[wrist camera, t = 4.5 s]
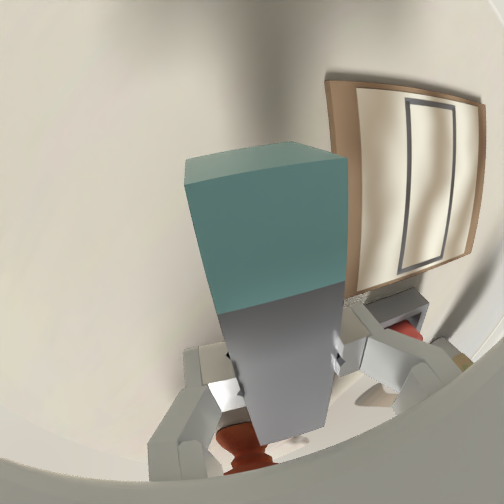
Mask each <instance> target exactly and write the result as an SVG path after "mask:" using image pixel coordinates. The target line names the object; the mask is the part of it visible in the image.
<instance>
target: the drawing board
mask: <svg viewBox="0 0 504 504" xmlns="http://www.w3.org/2000/svg"><path fill="white" fill-rule="evenodd" d="M325 90H326V98H327V106H328V116H329V126H330V137H331V149H332V153H334V154H337V155H340V156H343V157H346V158H348V244H347V264H346V280H345V292H344V299H345V298H349V297H352V296H355V295H358V294H362V293H365V292H368V291H371V290H374V289H377V288H380V287H383V286H386V285H389V284H392V283H395V282H398V281H400V280H403V279H406V278H409V277H412V276H414V275H417V274H420V273H422V272H425V271H428V270H430V269H433V268H436V267H438V266H441V265H443V264H446V263H448V262H451V261H453V260H456V259H458V258H461V257H463V256H465V255H468V254H470V253H471V251H472V247H473V243H474V238H475V234H476V229H477V224H478V218H479V212H480V206H481V199H482V192H483V183H484V173H485V159H486V107H485V105H484V104H481V103H478V102H474V101H471V100H467V99H463V98H460V97H456V96H452V95H447V94H443V93H438V92H434V91H429V90H423V89H418V88H411V87H405V86H398V85H390V84H381V83H370V82H357V81H333V80H329V81H325Z"/></svg>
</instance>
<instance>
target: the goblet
mask: <svg viewBox="0 0 504 504" xmlns="http://www.w3.org/2000/svg"><path fill="white" fill-rule="evenodd" d="M216 440H217V442H218V443H219V444H220V445H221V446H222V447H223V448H224V449H226V450H227V451H229V452H230V453H232V454H233V455H234V456H235V458H234V460H233V461H232V462H231V465H232V467H233V469H232V470H230V471H228V472H226V473H224V475H229V474H235V473H241V472H246V471H250V470H255V469H259V468H264V467H268V466H272V465H276V464H279V463H273V461H272V457H271V456H269V455H267V454H265V453H264V452H265V448H266V447H267V445H268V444H266V445H262V446H260V443H259V440H258V438H257V435H256V432H255V430H254V427H253V424H252V422H247V423H242V424H237V425H233V426H229V427H226V428H224V429H222V430H220V431H219V432H218V433H217V435H216Z"/></svg>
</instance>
